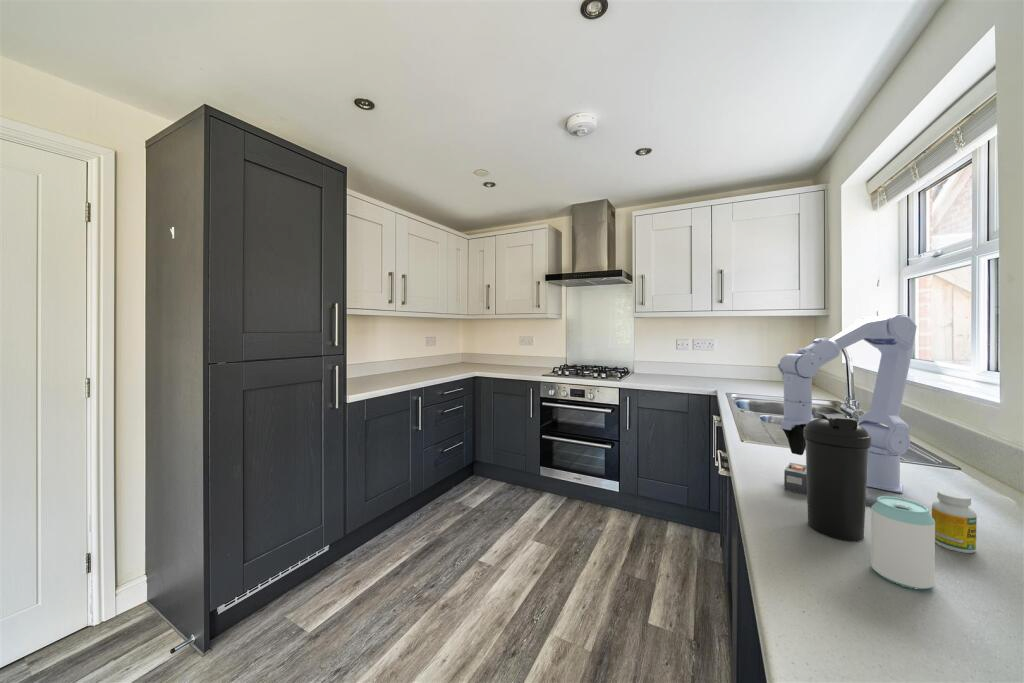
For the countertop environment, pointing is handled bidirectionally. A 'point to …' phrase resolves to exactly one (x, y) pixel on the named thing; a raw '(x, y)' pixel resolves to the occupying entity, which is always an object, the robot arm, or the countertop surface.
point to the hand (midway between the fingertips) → (797, 453)
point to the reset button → (797, 467)
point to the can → (903, 542)
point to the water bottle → (836, 476)
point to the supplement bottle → (954, 522)
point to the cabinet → (795, 479)
